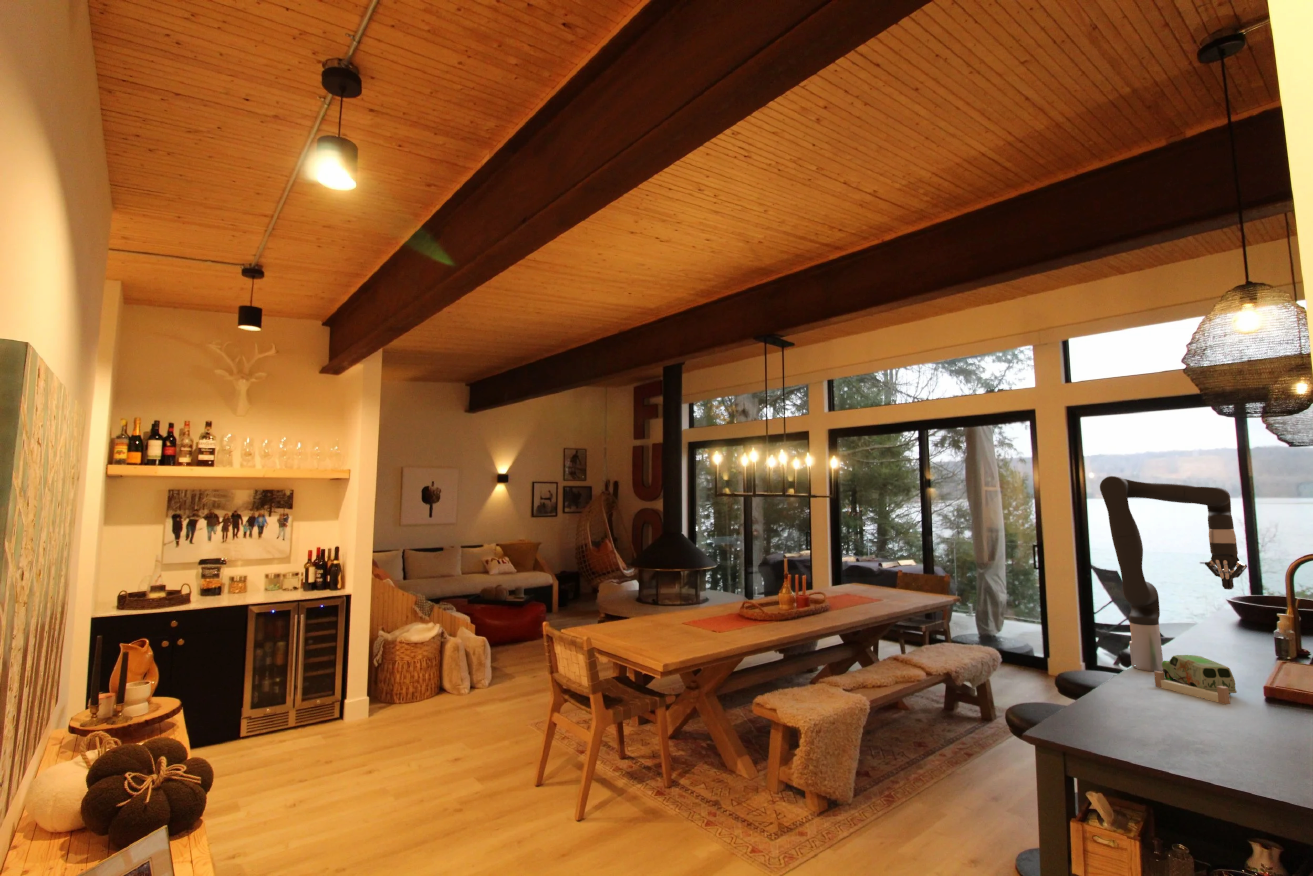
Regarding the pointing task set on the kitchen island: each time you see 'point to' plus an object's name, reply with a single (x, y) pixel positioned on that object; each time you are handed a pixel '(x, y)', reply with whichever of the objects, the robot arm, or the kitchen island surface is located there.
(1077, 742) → the kitchen island surface
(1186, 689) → the rail
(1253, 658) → the kitchen island surface
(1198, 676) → the toy car
